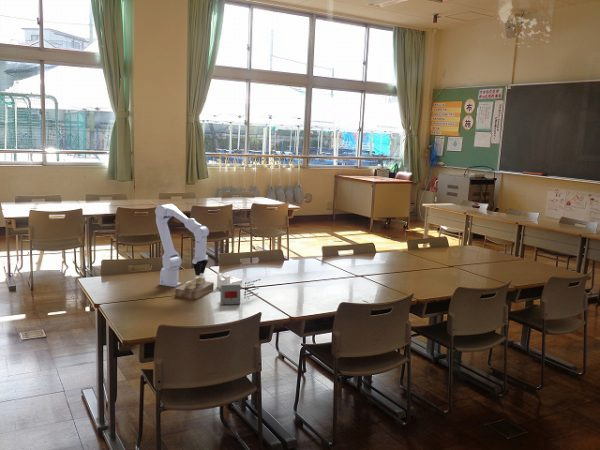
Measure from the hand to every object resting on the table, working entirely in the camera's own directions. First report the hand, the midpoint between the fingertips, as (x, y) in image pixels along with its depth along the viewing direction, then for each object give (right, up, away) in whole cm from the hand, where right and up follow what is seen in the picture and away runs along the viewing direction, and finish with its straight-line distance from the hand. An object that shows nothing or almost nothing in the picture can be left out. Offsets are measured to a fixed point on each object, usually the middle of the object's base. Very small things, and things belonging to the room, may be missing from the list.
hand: (199, 274), depth 297 cm
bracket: (+14, -8, +14) cm, 21 cm away
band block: (-2, -9, -3) cm, 10 cm away
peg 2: (0, -6, +1) cm, 6 cm away
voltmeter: (+23, -13, -11) cm, 28 cm away
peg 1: (-3, -7, -9) cm, 12 cm away
